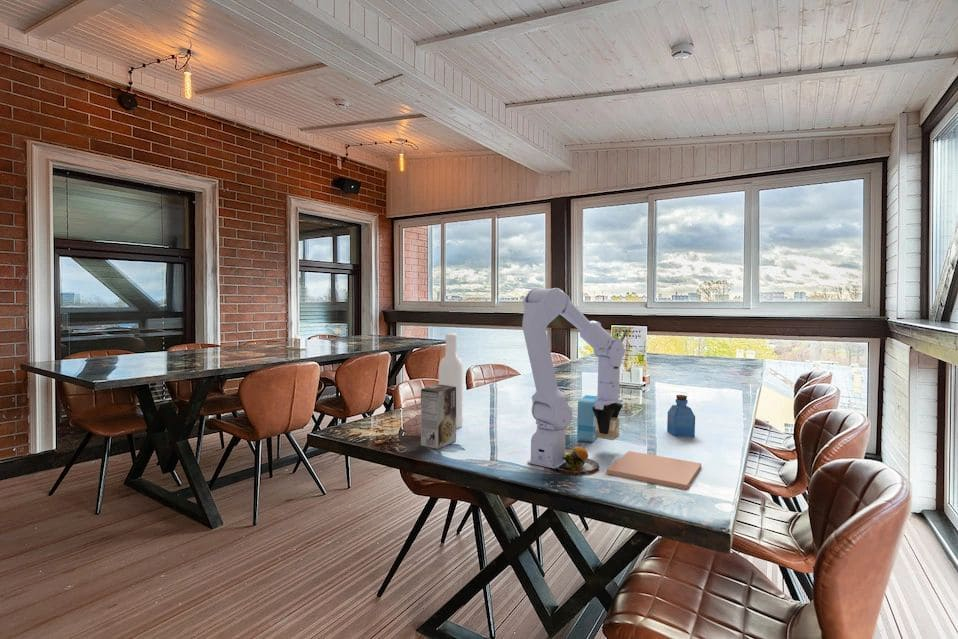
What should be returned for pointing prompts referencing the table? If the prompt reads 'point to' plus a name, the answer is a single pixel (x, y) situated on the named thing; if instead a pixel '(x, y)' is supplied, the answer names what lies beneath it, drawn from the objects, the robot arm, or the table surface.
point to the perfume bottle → (681, 419)
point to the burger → (579, 462)
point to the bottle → (453, 374)
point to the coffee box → (438, 416)
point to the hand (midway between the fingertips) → (607, 431)
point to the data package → (586, 419)
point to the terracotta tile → (655, 469)
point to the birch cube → (612, 432)
